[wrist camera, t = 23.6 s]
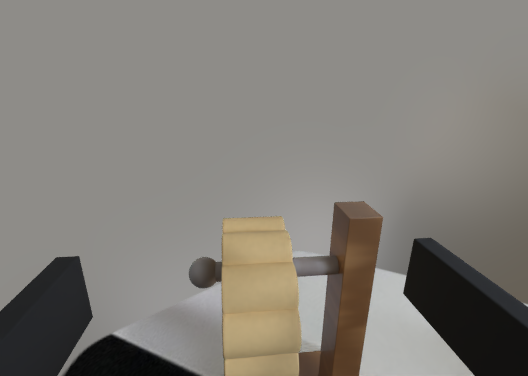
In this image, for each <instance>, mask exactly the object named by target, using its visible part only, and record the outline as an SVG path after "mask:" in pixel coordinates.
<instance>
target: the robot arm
mask: <svg viewBox="0 0 528 376" xmlns="http://www.w3.org/2000/svg"><path fill="white" fill-rule="evenodd" d="M403 294H404V295H405V296H406V297H407V298H408V300H409V301H410V302H411V303H412V304H413V305H414V306H415V308H416V309H417V310H418V311H419V312H420V313H421V314H422V316H423V317H424V318H425V319H426V320H427V321H428V322H429V324H430V325H431V326H432V327H433V328H434V329H435V331H436V332H437V333H438V334H439V335H440V336H441V337H442V339H443V340H444V341H445V342H446V343H447V344H448V345H449V347H450V348H451V349H452V350H453V351H454V352H455V353H456V355H457V356H458V357H459V358H460V359H461V360H462V362H463V363H464V364H465V365H466V366H467V367H468V368H469V370H470V371H471V372H472V373H473V374H474V375H475V376H528V307H527V306H525V305H524V304H523V303H521V302H520V301H518V300H517V299H516V298H514V297H513V296H512V295H510V294H509V293H507V292H506V291H504V290H503V289H502V288H500V287H499V286H498V285H496V284H495V283H493V282H492V281H490V280H489V279H488V278H486V277H485V276H484V275H482V274H481V273H479V272H478V271H476V270H475V269H474V268H472V267H471V266H469V265H468V264H467V263H465V262H464V261H463V260H461V259H460V258H458V257H457V256H456V255H454V254H453V253H451V252H450V251H449V250H447V249H446V248H444V247H443V246H442V245H440V244H439V243H438V242H436V241H435V240H433V239H432V238H419V239H414V242H413V247H412V253H411V257H410V262H409V267H408V272H407V277H406V282H405V287H404V292H403ZM92 317H93V316H92V311H91V307H90V302H89V298H88V293H87V289H86V285H85V280H84V276H83V272H82V267H81V263H80V258H79V256H75V257H57V258H55V259H54V260H53V261H52V262H51V263H50V264H49V265H48V266H47V267H46V268H45V269H44V270H43V271H42V272H41V273H40V274H39V275H38V276H37V277H36V278H35V279H33V280H32V281H31V282H30V283H29V284H28V285H27V286H26V287H25V288H24V289H23V290H22V291H21V292H20V293H19V294H18V295H17V296H16V297H15V298H14V299H13V300H12V301H11V302H10V303H9V304H7V305H6V306H5V307H4V308H3V309H2V310H1V311H0V376H57V375H58V374H59V372H60V370H61V369H62V367H63V365H64V364H65V362H66V361H67V359H68V357H69V356H70V354H71V352H72V350H73V349H74V347H75V346H76V344H77V342H78V341H79V339H80V337H81V336H82V334H83V332H84V330H85V329H86V327H87V326H88V324H89V322H90V321H91V319H92Z"/></svg>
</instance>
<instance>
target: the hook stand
mask: <svg viewBox="0 0 528 376" xmlns="http://www.w3.org/2000/svg"><path fill="white" fill-rule="evenodd" d="M382 221H383V217H382V216H381V215H380V214H379V213H377V212H376V211H375V210H373V209H372V208H371V207H370V206H369V205H367V204H366V203H365V202H364V201H363V202H335V203H334V214H333V224H332V235H331V247H330V256H316V257H298V258H293V263H294V266H295V269H296V274H297V277H300V276H316V275H328V278H327V289H326V299H325V310H324V321H323V332H322V342H321V351H313V352H303V353H298V355H299V375H298V376H359V371H360V364H361V358H362V351H363V345H364V338H365V332H366V325H367V319H368V312H369V306H370V299H371V293H372V286H373V280H374V273H375V267H376V260H377V254H378V247H379V241H380V234H381V227H382ZM189 278H190V280H191V282H192V284H194V285H195V286H196V287H198V288H208V287H211V286H212V285H214V283H216V282H221V281H222V262H215V261H214V260H213V259H211V258H208V257H202V258H199V259H197V260H196V261H194V262H193V263H192V265H191V267H190V269H189Z"/></svg>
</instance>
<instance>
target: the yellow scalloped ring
mask: <svg viewBox="0 0 528 376" xmlns="http://www.w3.org/2000/svg"><path fill="white" fill-rule="evenodd" d="M298 304H299V290H298V280H297V274H296V269H295V266H294V263H293V256H292V245H291V240H290V236H289V234H288V232H287V231H286V230H285V224H284V220H283V218H282V217H281V216H276V217H249V218H225V219H223V234H222V336H223V357H224V376H298V375H299V355H298V352H299V351H300V348H301V324H300V317H299V311H298Z"/></svg>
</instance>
